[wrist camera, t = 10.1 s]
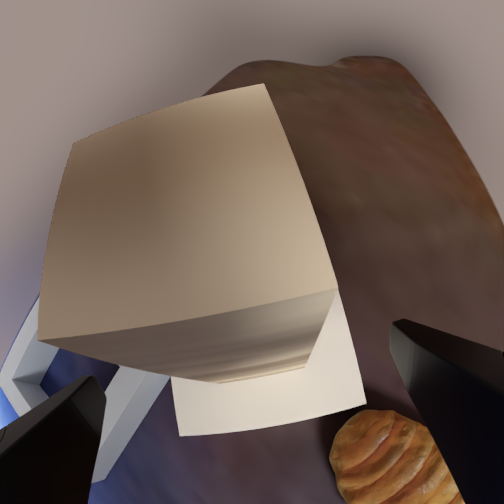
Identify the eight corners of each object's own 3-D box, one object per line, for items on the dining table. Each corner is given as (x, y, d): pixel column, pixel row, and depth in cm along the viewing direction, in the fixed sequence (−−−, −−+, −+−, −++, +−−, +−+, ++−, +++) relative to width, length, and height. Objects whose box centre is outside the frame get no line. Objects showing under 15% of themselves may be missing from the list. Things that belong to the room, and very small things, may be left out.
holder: (176, 367, 16) (155, 360, 14) (104, 479, 13) (77, 487, 10) (79, 287, 20) (54, 271, 17) (24, 386, 16) (-3, 380, 14)
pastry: (295, 456, 13) (296, 473, 10) (388, 379, 15) (413, 374, 11) (384, 544, 9) (402, 570, 6) (466, 471, 11) (499, 481, 7)
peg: (304, 368, 15) (338, 287, 3) (219, 383, 15) (37, 340, 4) (286, 288, 17) (264, 83, 6) (208, 305, 17) (73, 142, 6)
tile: (362, 403, 14) (366, 403, 13) (185, 434, 14) (179, 436, 14) (320, 244, 19) (321, 236, 18) (168, 277, 19) (162, 271, 18)
